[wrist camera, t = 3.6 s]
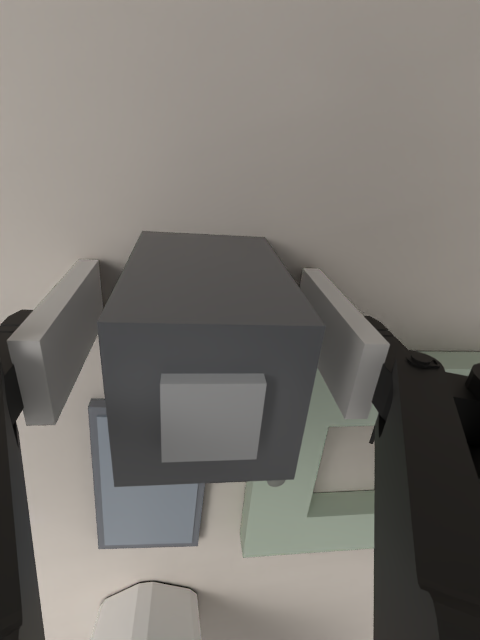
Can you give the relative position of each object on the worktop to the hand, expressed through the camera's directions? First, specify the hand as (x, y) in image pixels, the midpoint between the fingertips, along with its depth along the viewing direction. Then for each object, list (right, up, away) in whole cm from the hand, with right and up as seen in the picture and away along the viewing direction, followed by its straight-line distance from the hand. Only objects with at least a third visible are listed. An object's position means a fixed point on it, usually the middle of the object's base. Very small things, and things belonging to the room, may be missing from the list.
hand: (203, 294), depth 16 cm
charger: (0, 0, 0) cm, 0 cm away
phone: (-3, -10, +5) cm, 12 cm away
